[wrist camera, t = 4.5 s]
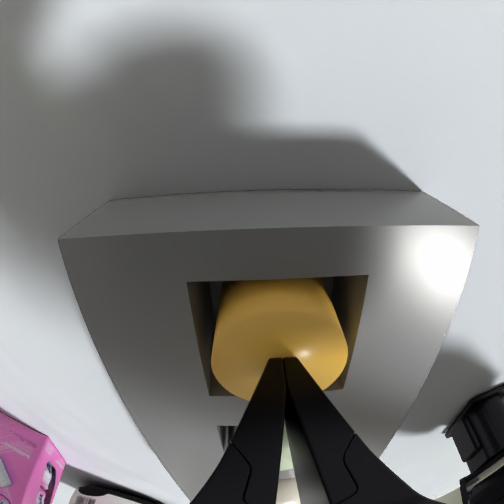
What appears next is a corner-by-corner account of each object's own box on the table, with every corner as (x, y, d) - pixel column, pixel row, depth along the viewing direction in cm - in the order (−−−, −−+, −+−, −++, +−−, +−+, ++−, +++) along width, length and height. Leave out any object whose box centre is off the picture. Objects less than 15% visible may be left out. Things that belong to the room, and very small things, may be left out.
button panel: (423, 191, 11) (479, 225, 8) (343, 457, 21) (350, 494, 18) (108, 200, 11) (57, 239, 8) (195, 464, 21) (190, 501, 18)
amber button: (327, 245, 11) (358, 306, 8) (318, 329, 13) (337, 398, 10) (216, 248, 11) (202, 313, 8) (225, 333, 13) (219, 404, 10)
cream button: (301, 449, 17) (307, 498, 14) (297, 470, 19) (301, 511, 15) (240, 452, 17) (239, 501, 14) (244, 472, 19) (243, 514, 15)
